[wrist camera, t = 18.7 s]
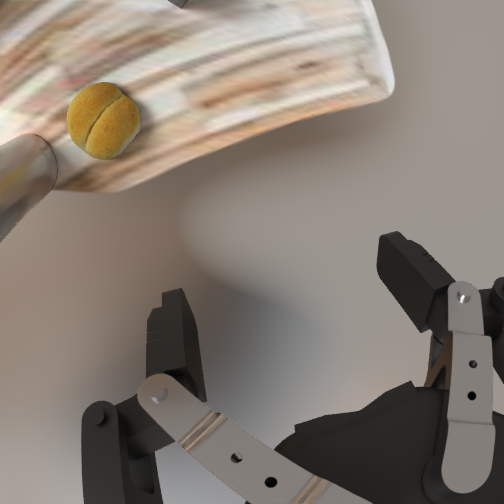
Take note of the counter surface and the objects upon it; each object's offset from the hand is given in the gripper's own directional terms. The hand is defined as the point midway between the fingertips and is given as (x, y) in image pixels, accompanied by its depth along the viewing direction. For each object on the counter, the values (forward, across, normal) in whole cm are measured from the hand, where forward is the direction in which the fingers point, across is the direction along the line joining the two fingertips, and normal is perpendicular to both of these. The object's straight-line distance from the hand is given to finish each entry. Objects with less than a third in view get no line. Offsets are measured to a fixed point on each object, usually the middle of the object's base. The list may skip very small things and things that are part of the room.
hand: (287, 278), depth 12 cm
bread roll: (+28, +12, -4) cm, 31 cm away
